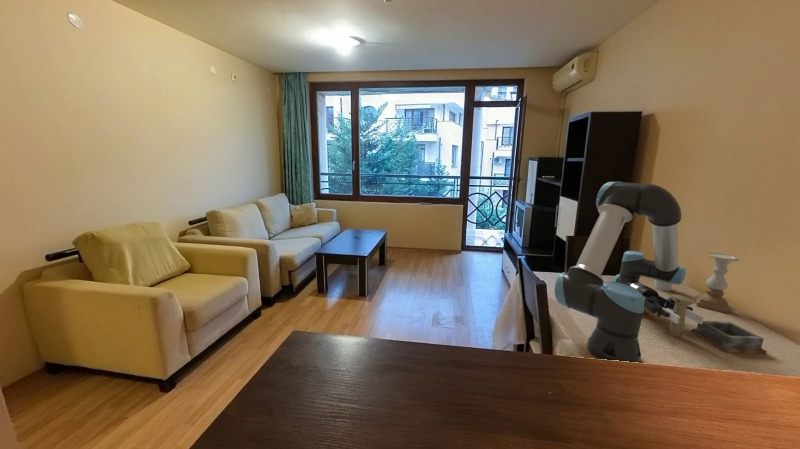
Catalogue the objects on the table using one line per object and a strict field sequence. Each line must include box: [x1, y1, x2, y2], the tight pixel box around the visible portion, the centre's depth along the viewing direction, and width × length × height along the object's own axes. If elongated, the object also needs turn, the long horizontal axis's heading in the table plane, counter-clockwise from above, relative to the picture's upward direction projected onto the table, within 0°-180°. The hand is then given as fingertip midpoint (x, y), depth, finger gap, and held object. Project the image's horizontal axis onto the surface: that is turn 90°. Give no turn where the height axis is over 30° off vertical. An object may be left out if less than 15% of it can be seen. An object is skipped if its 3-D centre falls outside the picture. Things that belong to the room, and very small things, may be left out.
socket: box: [690, 320, 767, 354], centre depth 120 cm, size 14×14×5 cm
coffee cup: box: [653, 279, 673, 292], centre depth 169 cm, size 9×9×15 cm
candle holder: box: [694, 252, 740, 314], centre depth 149 cm, size 11×11×24 cm
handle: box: [668, 293, 695, 338], centre depth 123 cm, size 5×6×15 cm
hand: (690, 320), depth 118 cm, fingers open, 8 cm apart
